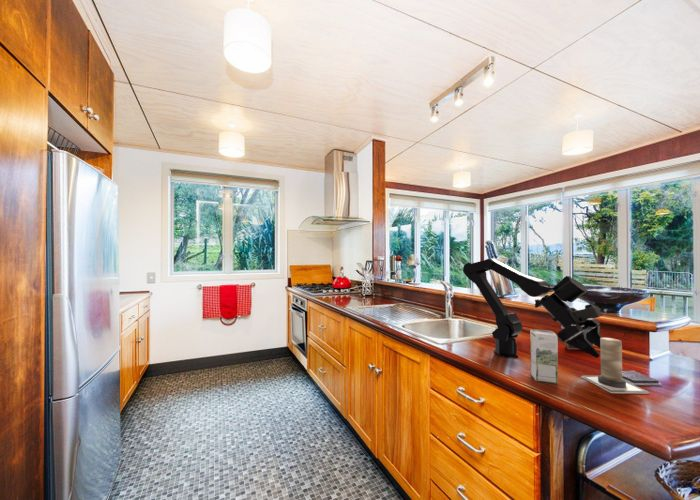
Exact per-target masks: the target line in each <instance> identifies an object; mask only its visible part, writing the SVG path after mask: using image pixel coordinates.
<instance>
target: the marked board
mask: <svg viewBox="0 0 700 500" xmlns="http://www.w3.org/2000/svg"><path fill="white" fill-rule="evenodd" d="M580 378H582V379H583V380H585V381H587V382H589V383H591V384H593V385H594V386H597V387H599V388H600V389H602V390H604V391H606V392H608V393H610V394H636V395H637V394H641V395H642V394H644V395H645V394H646V395H647V394H648V395H649V394H650V391H648V390H647V389H644V388H641V387H639V386H638V385H633V384H631V383H629V382H626V387H625V388H616V387H611V386H607V385H604V384H602V383H600V382H599V381H598V375H580Z"/></svg>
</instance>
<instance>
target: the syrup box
mask: <svg viewBox="0 0 700 500" xmlns="http://www.w3.org/2000/svg"><path fill="white" fill-rule="evenodd" d="M529 330H530V332H529V333H530V335H529V336H530V337H529V338H530V341H529V342H530V344H529V345H530V374H531V376H532V377H533V379H534V380H535V382H540V383H541V382H542V383H549V384H558V382H559V380H558V379H559V376H558V375H559V374H558V373H559V363H558V362H559V360H558V358H559V357H558V356H559V355H558V353H559V347H558V345H559V342H558V341H559V338H558V336H557V333H555V332H554V331H552V330H546V329H533V328H532V329H531V328H530V329H529Z"/></svg>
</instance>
